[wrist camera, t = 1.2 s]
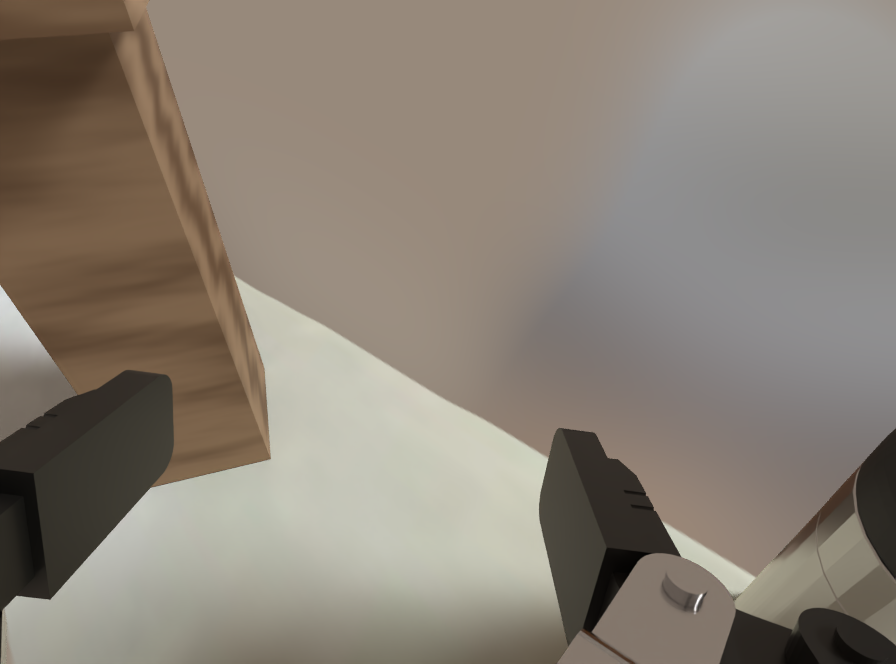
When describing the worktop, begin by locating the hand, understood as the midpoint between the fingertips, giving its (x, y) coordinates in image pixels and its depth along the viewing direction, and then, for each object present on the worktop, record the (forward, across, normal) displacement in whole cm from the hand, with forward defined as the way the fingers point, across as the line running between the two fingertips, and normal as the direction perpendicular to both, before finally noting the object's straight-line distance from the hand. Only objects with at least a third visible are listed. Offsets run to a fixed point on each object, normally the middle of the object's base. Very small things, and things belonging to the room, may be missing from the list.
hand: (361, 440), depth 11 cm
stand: (+28, +15, +18) cm, 37 cm away
